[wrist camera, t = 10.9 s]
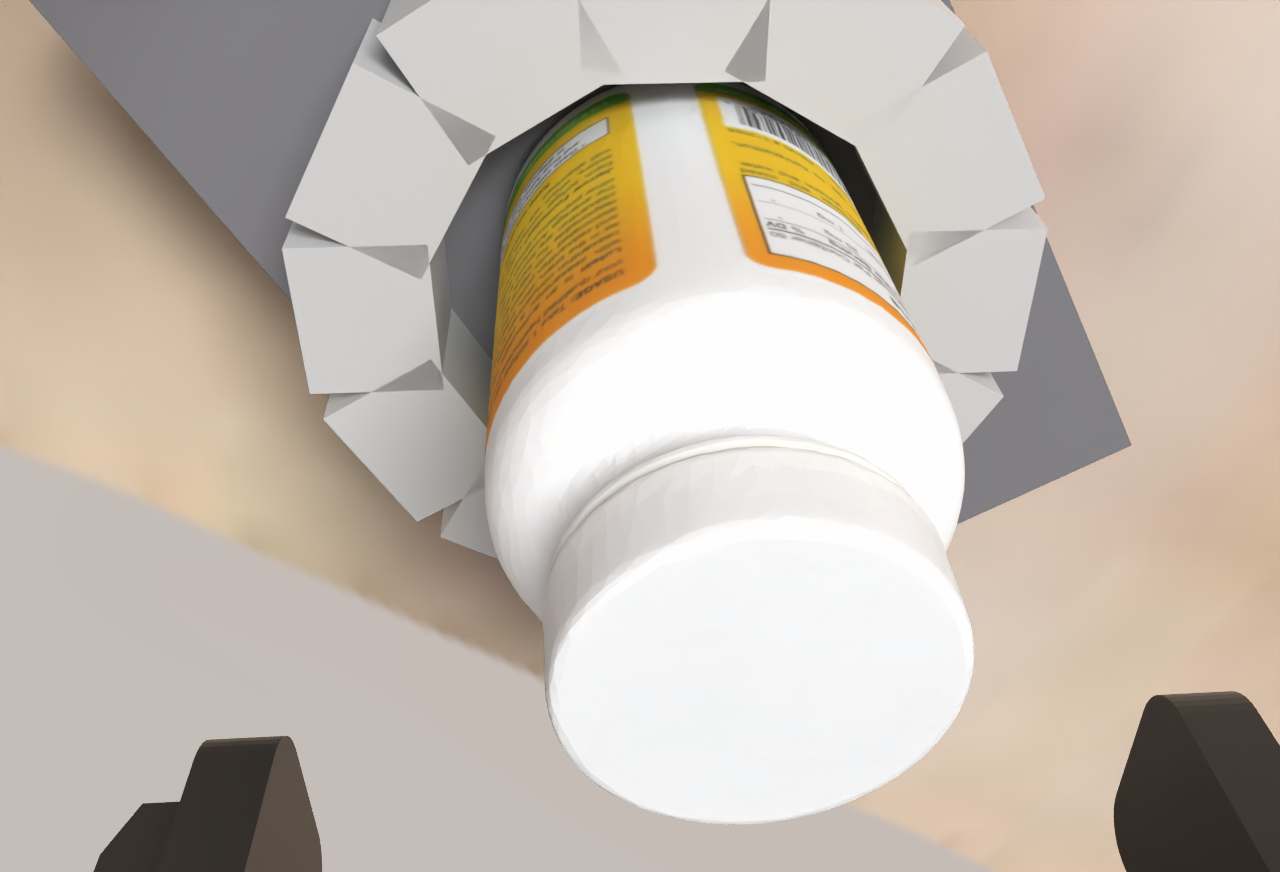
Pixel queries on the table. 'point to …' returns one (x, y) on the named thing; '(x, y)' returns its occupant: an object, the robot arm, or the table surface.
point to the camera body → (503, 140)
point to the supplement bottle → (720, 463)
